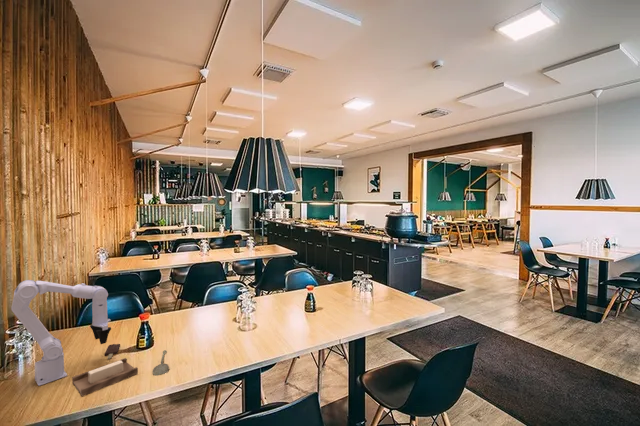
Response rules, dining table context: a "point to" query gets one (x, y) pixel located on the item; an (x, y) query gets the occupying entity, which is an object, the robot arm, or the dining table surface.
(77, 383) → the tray
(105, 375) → the clay bar
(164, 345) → the dining table surface
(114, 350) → the ice cream bar
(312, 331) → the dining table surface
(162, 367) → the soupspoon
